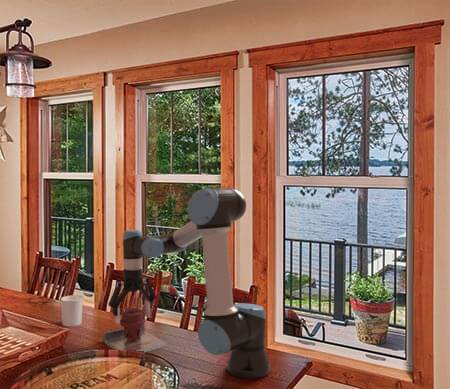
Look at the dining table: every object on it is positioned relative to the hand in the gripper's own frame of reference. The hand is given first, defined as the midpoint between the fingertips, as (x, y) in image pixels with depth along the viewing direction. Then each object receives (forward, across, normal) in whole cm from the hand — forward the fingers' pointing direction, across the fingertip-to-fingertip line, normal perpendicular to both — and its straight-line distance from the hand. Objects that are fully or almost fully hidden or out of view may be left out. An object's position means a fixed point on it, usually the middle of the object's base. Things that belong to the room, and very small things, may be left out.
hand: (133, 320), depth 181 cm
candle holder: (+9, +11, -39) cm, 42 cm away
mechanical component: (+8, 0, 0) cm, 8 cm away
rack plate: (+10, 0, +1) cm, 10 cm away
